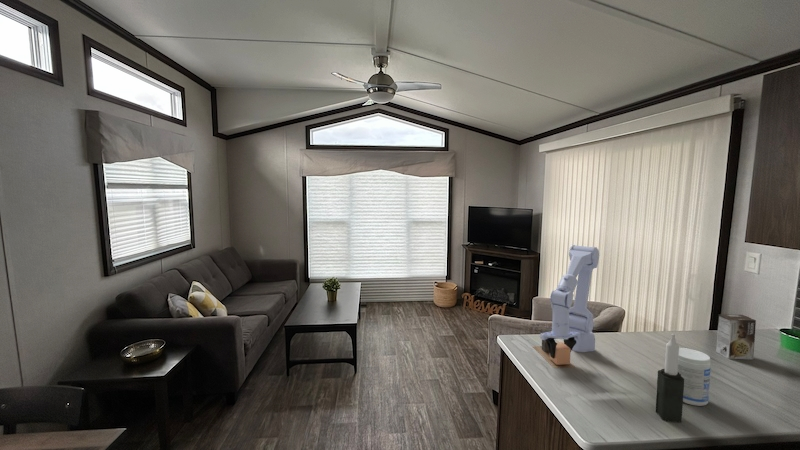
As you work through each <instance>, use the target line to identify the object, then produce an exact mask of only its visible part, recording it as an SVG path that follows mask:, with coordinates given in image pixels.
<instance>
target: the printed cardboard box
mask: <svg viewBox="0 0 800 450" xmlns="http://www.w3.org/2000/svg"><path fill="white" fill-rule="evenodd" d="M717 324H718V325H717V335H716V336H717V337H716V350H715V351H716V353H717V354H719V355H721V356H723V357H724V358H726V359H727V360H754V355H755V340H756V327H757V326H756V325H757V320H756V319H753V318H752V317H749V316H747V315H744V314H729V313H728V314H726V313H725V314H723V313H722V314H718V320H717Z"/></svg>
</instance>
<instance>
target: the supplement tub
mask: <svg viewBox="0 0 800 450" xmlns="http://www.w3.org/2000/svg"><path fill="white" fill-rule="evenodd" d="M711 363H712V362H711V357H710V355H708V354H706V353H704V352H702V351H699V350H695V349H692V348H686V347H679V358H678V372H679V374H681V377H683V378H684V393H683V404H684V403H685V404H688V405H691V406H697V407H701V406H706V405H707V404H709V399H710V397H709V396H710V384H711V382H710V381H711V370H712V369H711V368H712V367H711Z"/></svg>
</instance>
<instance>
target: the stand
mask: <svg viewBox="0 0 800 450" xmlns="http://www.w3.org/2000/svg"><path fill="white" fill-rule="evenodd" d="M532 348H533V349H534V350H535V351H536V352H537V353H538V354H539V355H540V356H542V358H544V359H545V361H546V362H548V364H550V365H551V366H552V367H553V368H554V369H563V368H564V369H567V368H570V369H572V368H576V366H575V365H574V364H572V363H571V362H570V364H561V365H556V364H555V363H554V362H553V361H552V360H551V359H550V351H549V348H548V345H547V343H546V341H545V340H542V339H541V346H540V345H538V346H532Z"/></svg>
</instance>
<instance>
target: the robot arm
mask: <svg viewBox="0 0 800 450" xmlns="http://www.w3.org/2000/svg"><path fill="white" fill-rule="evenodd" d="M568 257H569V260H570V262H569V264H568V268H567V271H566V274H562V275H561V278H560V280H559V282H558V285H557V287H556V288H555V289H554V290H552V291H551V293H550V297H549V301H550V304H551V305H550V306H551V307H550V308H551V310H552V317H551V318H552V319H551V321H552V323H551V331H546V332H541V333H540V336H539V337H540V339H541V341H542V340H545V341H546V343H547V345H548V348H549V351H550V356H551V357H552V358H555V350H556V345H557V343H558V342H556V339H557V340H558V339H560V340H563V343H564V344H565V345H567V346H568V347H569V348H570V349H571V352H570V354H571V353H572V351H573V352H578V353H585V352H586V353H587V352H595V350H596V337H595V334H594V333H593V329H594V326H595V325H594V323H595V322H594V314H593V313H592V312H591V311H590V310H589V309H588V301H589V296H590V295H589V294H590V289H591V280H592V274H593V272H594V271H593V270H594V269H597V268H598V265H599V258H600V251H599V249H598V247H596V246H594V247H593V246H583V245H575V244H572V245H571V246H570V248H569V251H568ZM574 292H575V295H574ZM573 301H574V302H573ZM572 305H573V306H572Z"/></svg>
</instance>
